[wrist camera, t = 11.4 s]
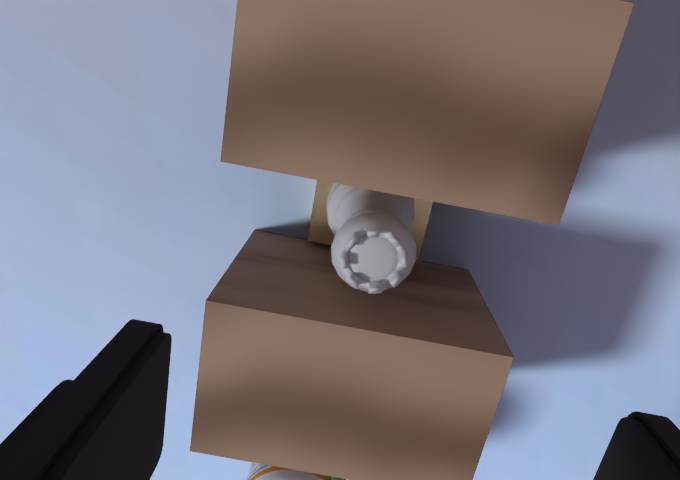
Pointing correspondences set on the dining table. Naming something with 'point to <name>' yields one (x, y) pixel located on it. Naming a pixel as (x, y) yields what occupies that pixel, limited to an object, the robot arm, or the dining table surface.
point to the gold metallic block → (324, 234)
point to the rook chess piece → (371, 237)
